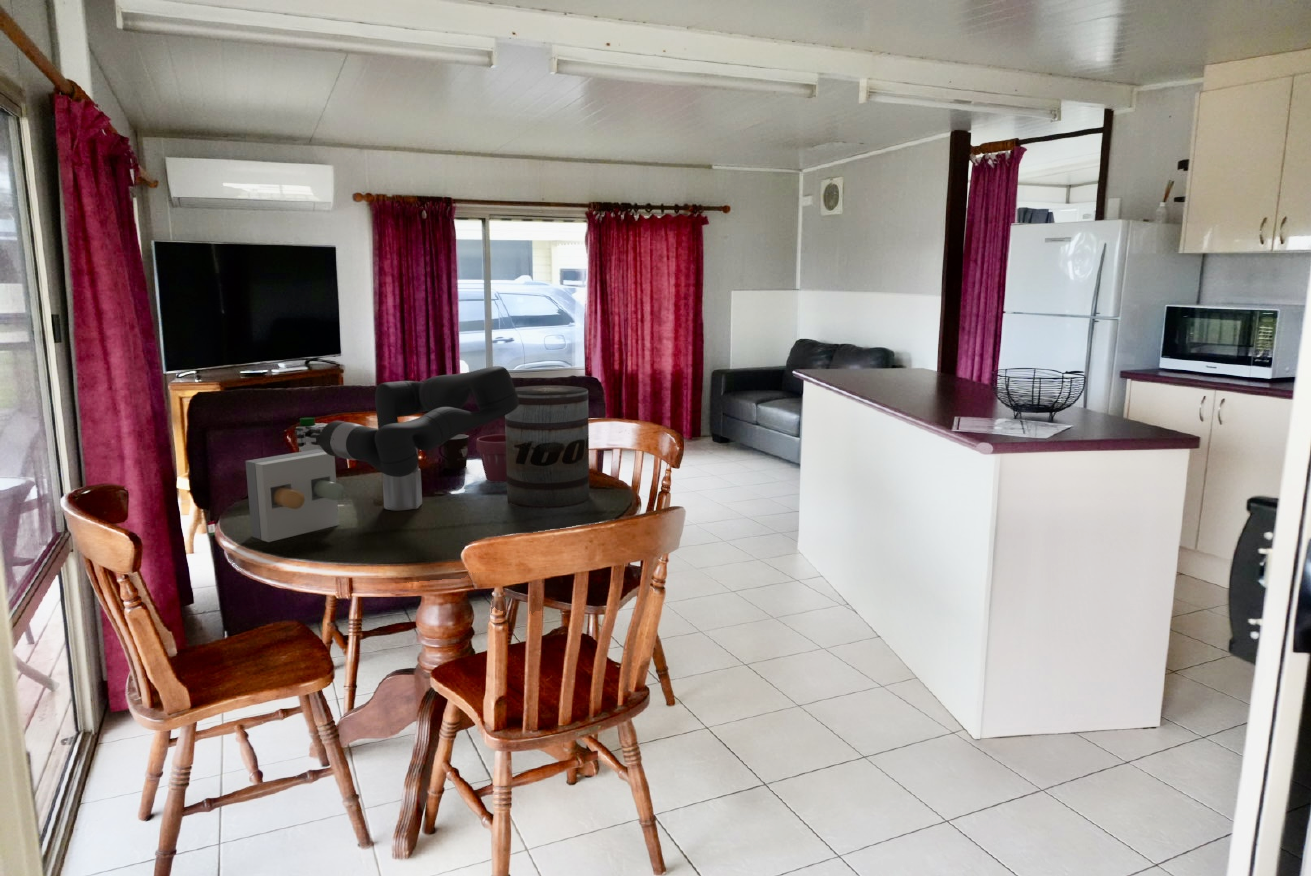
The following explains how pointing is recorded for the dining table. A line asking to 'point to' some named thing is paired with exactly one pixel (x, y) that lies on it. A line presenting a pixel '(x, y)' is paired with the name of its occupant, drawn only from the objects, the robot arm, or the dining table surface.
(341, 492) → the button sage
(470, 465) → the dining table surface
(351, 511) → the dining table surface
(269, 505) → the control box
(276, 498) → the button orange
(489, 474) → the plant pot
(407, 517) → the dining table surface
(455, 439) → the coffee mug
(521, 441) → the barrel
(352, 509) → the dining table surface
